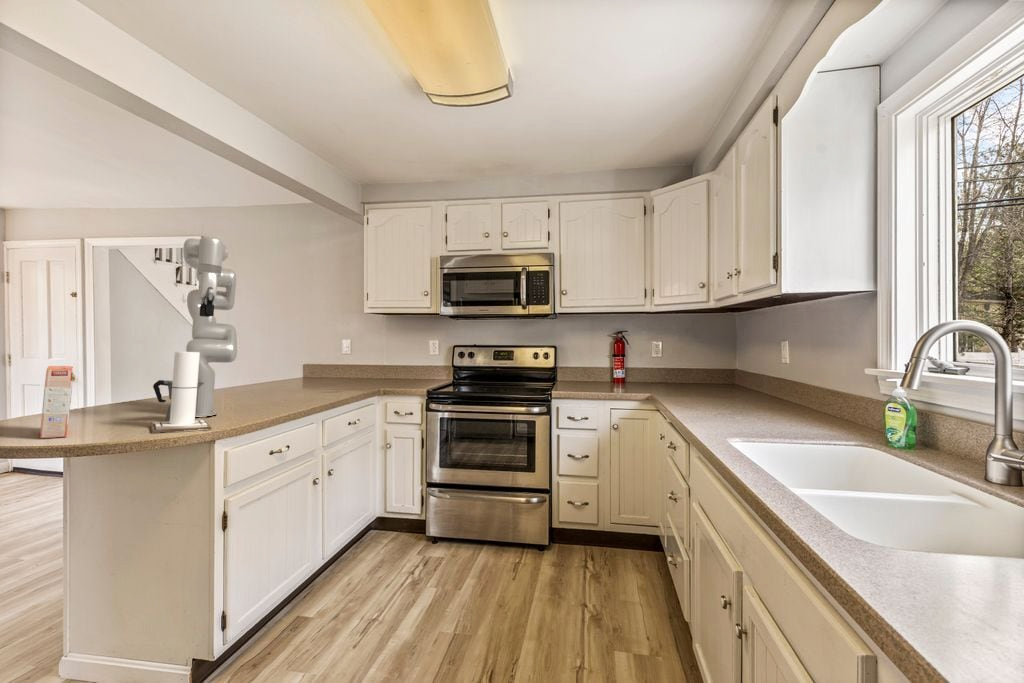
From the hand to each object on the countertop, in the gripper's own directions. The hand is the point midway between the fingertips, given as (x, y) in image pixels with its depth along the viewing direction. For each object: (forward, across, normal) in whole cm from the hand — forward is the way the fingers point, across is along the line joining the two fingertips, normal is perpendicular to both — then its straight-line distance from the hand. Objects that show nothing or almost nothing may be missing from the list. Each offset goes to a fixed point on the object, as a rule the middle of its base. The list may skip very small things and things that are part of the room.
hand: (206, 316), depth 168 cm
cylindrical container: (+39, +8, -6) cm, 40 cm away
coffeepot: (+40, -8, -6) cm, 42 cm away
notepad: (+40, +8, -6) cm, 42 cm away
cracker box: (+40, +6, -37) cm, 55 cm away
